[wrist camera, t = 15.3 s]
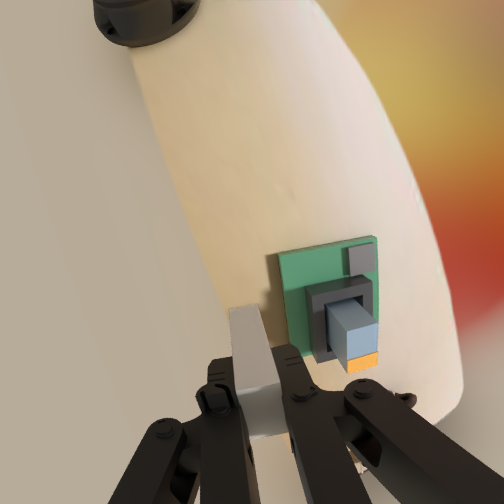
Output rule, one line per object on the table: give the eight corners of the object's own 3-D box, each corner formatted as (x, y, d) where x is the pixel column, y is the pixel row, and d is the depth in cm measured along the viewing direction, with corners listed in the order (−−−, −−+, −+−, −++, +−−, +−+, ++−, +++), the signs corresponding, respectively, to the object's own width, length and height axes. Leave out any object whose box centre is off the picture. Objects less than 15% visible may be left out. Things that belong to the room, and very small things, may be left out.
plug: (320, 298, 41) (347, 332, 31) (346, 292, 41) (379, 323, 31) (322, 335, 42) (347, 374, 33) (348, 328, 42) (377, 364, 33)
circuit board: (277, 253, 40) (285, 263, 35) (371, 235, 41) (389, 242, 36) (291, 353, 44) (298, 372, 39) (374, 332, 45) (388, 347, 40)
